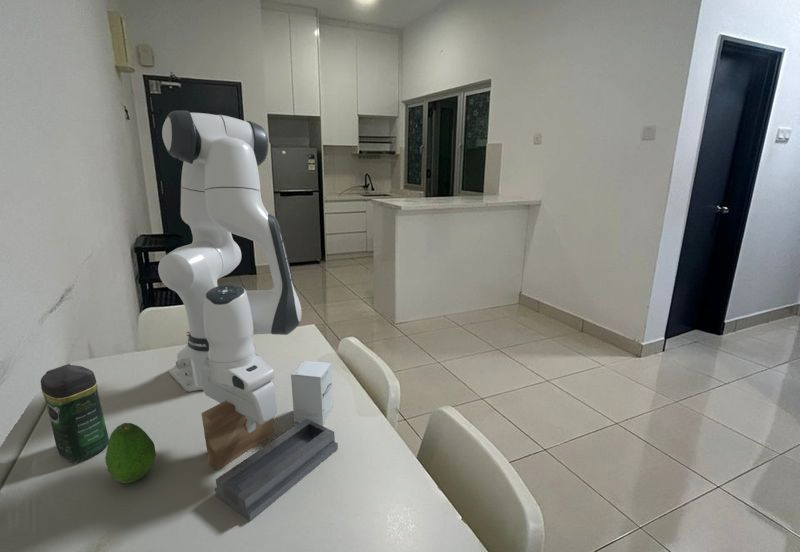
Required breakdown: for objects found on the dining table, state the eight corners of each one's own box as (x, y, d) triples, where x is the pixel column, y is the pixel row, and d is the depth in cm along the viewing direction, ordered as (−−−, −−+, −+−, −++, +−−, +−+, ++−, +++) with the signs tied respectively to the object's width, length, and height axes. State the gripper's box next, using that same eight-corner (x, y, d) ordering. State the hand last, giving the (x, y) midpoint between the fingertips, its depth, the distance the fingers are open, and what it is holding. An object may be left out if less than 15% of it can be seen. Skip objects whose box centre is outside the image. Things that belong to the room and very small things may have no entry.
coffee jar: (117, 445, 89) (100, 367, 84) (74, 468, 82) (53, 385, 77) (93, 431, 94) (76, 357, 89) (52, 452, 87) (30, 372, 82)
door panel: (209, 464, 83) (201, 413, 80) (265, 429, 95) (260, 382, 91) (217, 470, 82) (210, 418, 79) (274, 433, 93) (269, 386, 90)
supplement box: (323, 426, 95) (320, 377, 92) (293, 422, 97) (289, 374, 94) (334, 408, 102) (332, 362, 99) (306, 405, 104) (303, 359, 100)
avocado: (108, 499, 75) (95, 442, 72) (113, 471, 82) (102, 418, 78) (158, 484, 78) (148, 429, 75) (160, 458, 85) (150, 407, 82)
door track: (215, 495, 76) (213, 477, 75) (304, 432, 93) (303, 417, 92) (250, 521, 70) (248, 502, 69) (337, 449, 88) (337, 433, 87)
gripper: (190, 358, 86) (198, 416, 90) (252, 387, 75) (259, 451, 79) (217, 347, 91) (224, 402, 95) (280, 373, 80) (285, 434, 84)
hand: (241, 425), depth 87 cm, fingers open, 5 cm apart
